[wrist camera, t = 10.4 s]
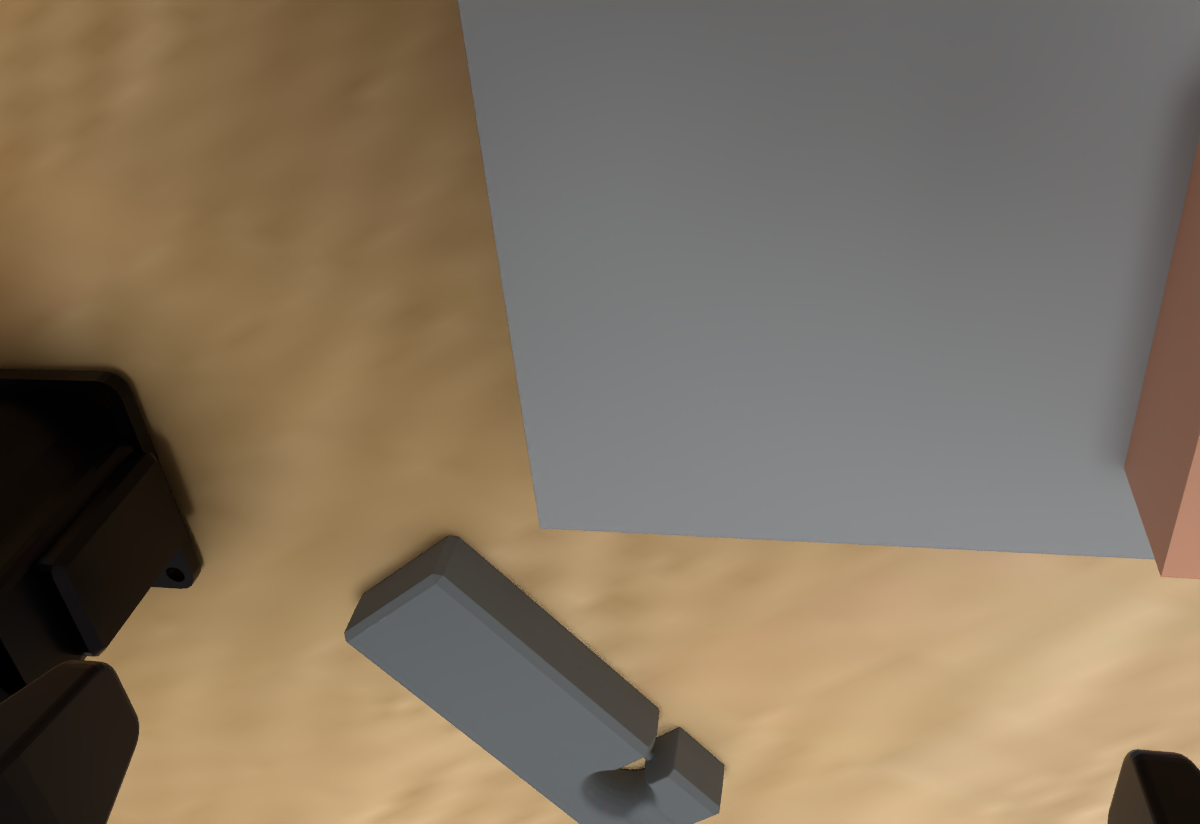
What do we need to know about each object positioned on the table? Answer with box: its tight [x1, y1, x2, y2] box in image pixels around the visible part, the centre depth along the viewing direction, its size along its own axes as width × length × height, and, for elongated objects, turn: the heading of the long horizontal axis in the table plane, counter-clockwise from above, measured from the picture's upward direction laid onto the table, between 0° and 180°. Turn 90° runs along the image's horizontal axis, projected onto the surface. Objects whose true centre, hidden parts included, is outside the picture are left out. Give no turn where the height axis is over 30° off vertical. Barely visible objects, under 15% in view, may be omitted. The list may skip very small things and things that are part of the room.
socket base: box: [458, 0, 1200, 579], centre depth 18 cm, size 19×12×4 cm, turn 95°
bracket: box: [344, 536, 724, 824], centre depth 29 cm, size 4×10×2 cm, turn 44°
